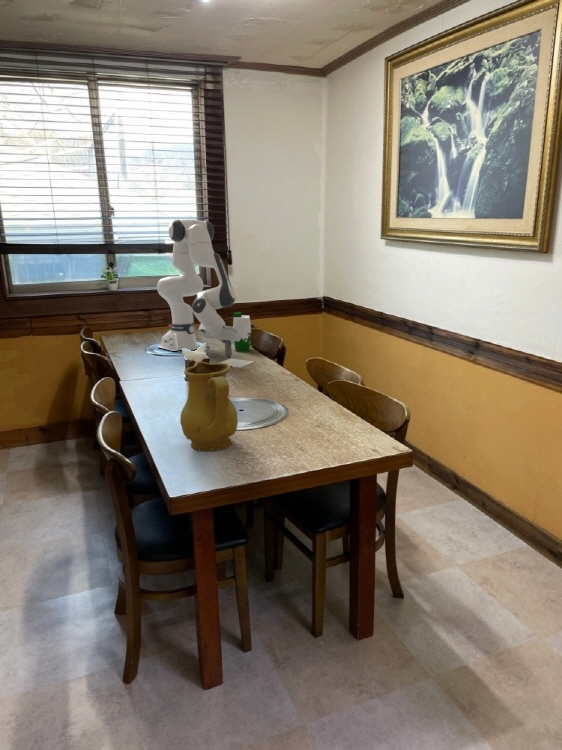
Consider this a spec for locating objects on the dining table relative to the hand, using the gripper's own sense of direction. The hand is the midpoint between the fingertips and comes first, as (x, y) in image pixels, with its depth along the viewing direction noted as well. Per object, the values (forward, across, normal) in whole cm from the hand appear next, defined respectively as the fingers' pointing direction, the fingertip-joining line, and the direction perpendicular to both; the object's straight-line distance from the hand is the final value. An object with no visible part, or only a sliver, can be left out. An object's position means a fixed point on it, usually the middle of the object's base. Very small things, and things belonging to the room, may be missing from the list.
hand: (228, 342), depth 255 cm
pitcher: (-52, -54, +67) cm, 101 cm away
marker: (+5, 0, +6) cm, 7 cm away
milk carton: (+24, +9, -10) cm, 28 cm away
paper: (+6, -4, +7) cm, 11 cm away
